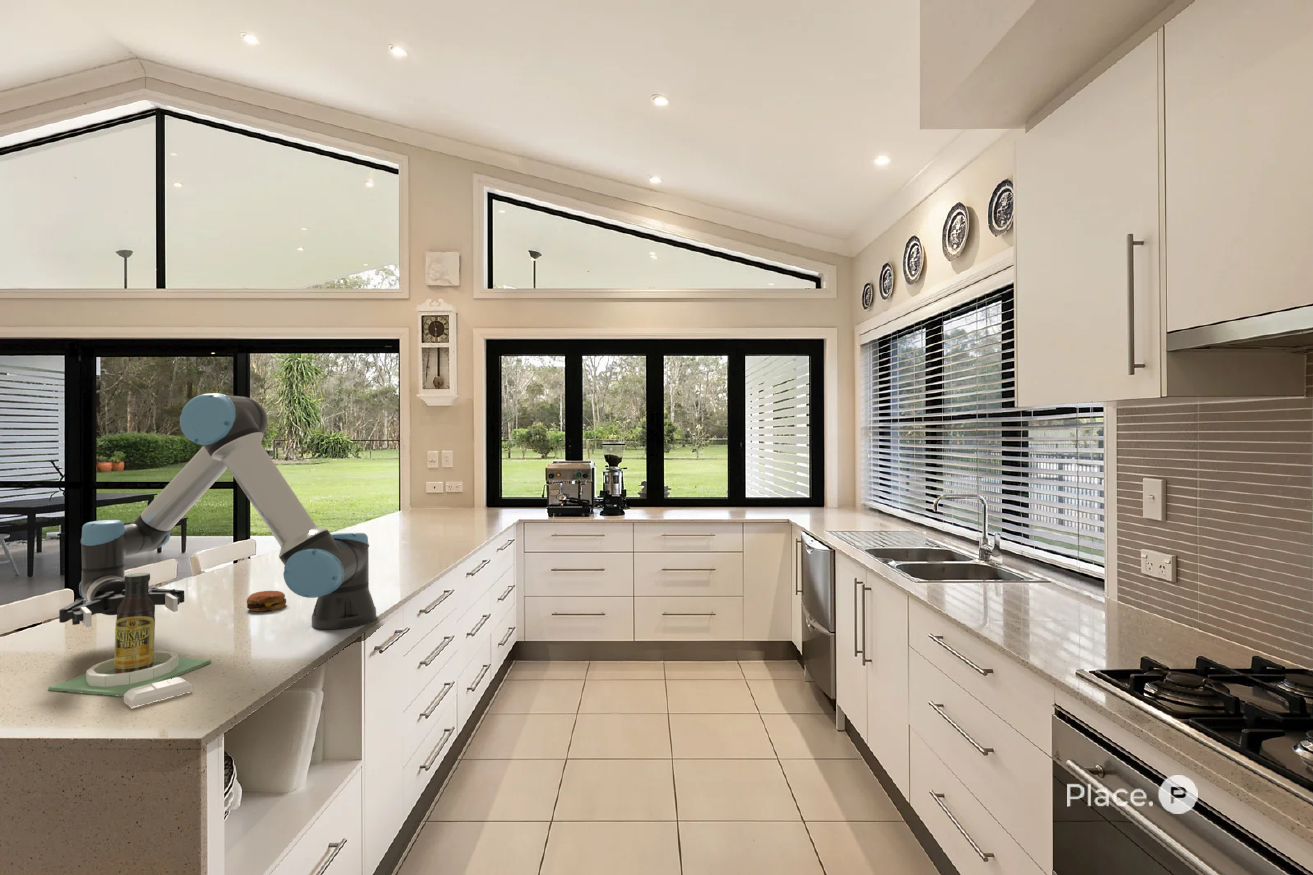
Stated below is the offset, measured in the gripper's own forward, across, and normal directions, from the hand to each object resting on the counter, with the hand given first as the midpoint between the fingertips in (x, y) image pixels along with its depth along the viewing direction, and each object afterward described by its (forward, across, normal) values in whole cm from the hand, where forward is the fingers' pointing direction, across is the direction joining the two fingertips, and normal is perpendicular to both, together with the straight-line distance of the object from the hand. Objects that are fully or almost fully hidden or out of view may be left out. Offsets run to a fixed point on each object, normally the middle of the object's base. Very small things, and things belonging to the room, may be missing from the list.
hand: (134, 612), depth 128 cm
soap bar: (+16, -1, -14) cm, 21 cm away
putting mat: (-1, 0, -13) cm, 13 cm away
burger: (-37, -36, -14) cm, 53 cm away
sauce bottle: (-1, 0, -13) cm, 13 cm away
